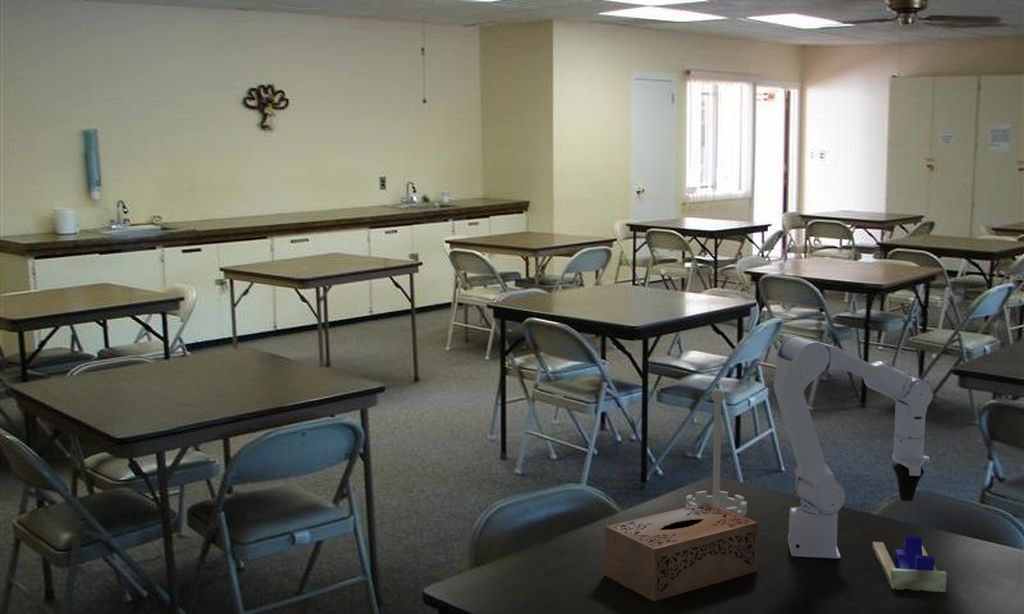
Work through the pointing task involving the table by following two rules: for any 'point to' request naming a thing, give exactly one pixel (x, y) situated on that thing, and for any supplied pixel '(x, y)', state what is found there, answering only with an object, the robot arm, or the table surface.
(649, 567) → the tissue box cover
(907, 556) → the blue stepped block
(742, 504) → the flag stand
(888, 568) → the channel
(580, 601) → the table surface
